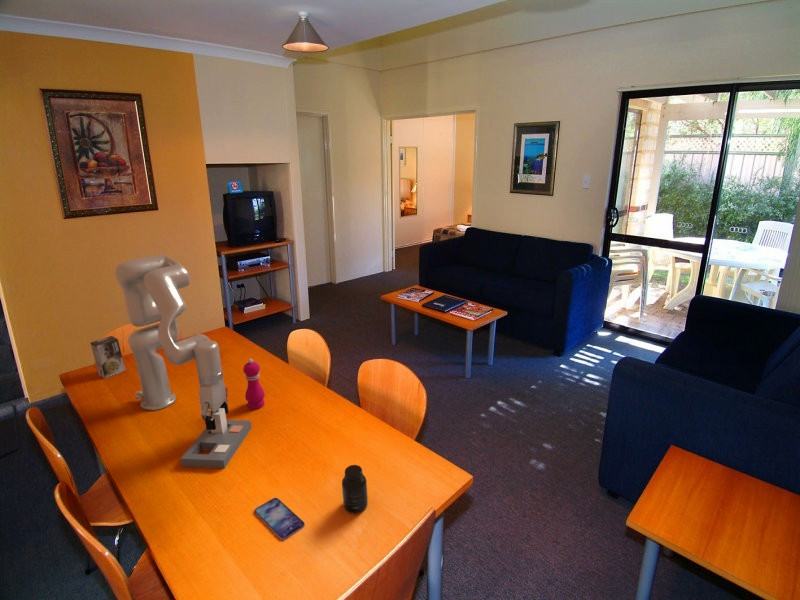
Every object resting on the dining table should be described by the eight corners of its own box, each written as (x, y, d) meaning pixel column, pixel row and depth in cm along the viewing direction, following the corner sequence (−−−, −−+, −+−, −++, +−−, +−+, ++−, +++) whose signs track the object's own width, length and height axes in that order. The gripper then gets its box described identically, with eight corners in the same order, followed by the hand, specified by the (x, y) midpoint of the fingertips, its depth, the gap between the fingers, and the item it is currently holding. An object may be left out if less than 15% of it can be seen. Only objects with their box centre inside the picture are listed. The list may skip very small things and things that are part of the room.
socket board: (182, 466, 147) (180, 457, 145) (214, 426, 167) (212, 418, 166) (224, 468, 145) (223, 459, 144) (251, 427, 166) (250, 419, 165)
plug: (212, 439, 160) (207, 409, 156) (217, 432, 164) (212, 403, 160) (223, 439, 160) (218, 409, 156) (228, 432, 164) (223, 403, 160)
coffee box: (119, 367, 214) (111, 335, 209) (126, 371, 210) (118, 338, 205) (98, 375, 207) (89, 342, 202) (104, 379, 203) (96, 345, 198)
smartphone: (276, 496, 133) (306, 524, 123) (276, 499, 133) (306, 526, 123) (252, 509, 128) (282, 539, 118) (253, 512, 128) (282, 542, 118)
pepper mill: (268, 400, 184) (263, 355, 177) (261, 410, 177) (255, 363, 171) (251, 400, 184) (245, 354, 178) (243, 409, 178) (237, 363, 171)
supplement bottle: (343, 497, 133) (341, 462, 129) (367, 495, 133) (366, 461, 129) (343, 515, 126) (340, 479, 122) (368, 513, 127) (366, 477, 123)
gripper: (212, 364, 163) (218, 407, 168) (186, 389, 146) (195, 435, 152) (232, 365, 162) (238, 407, 168) (209, 390, 146) (217, 436, 151)
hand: (217, 421), depth 160 cm, fingers open, 9 cm apart
